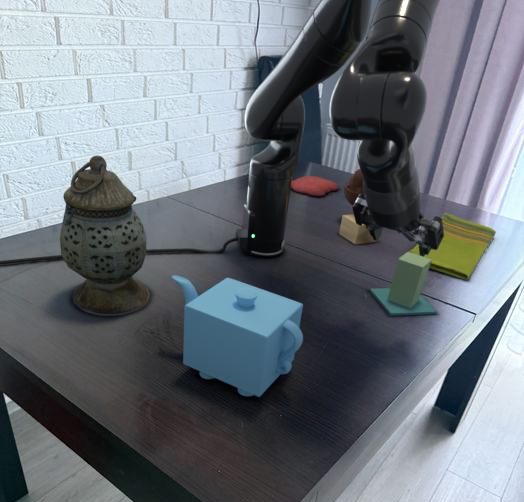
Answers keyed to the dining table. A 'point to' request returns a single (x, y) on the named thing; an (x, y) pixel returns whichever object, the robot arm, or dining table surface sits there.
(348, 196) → the ice cream bowl
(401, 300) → the green block
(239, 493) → the dining table surface
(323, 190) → the patty
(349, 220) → the birch block
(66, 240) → the lantern
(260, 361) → the teapot
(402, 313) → the mat
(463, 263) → the dish towel
